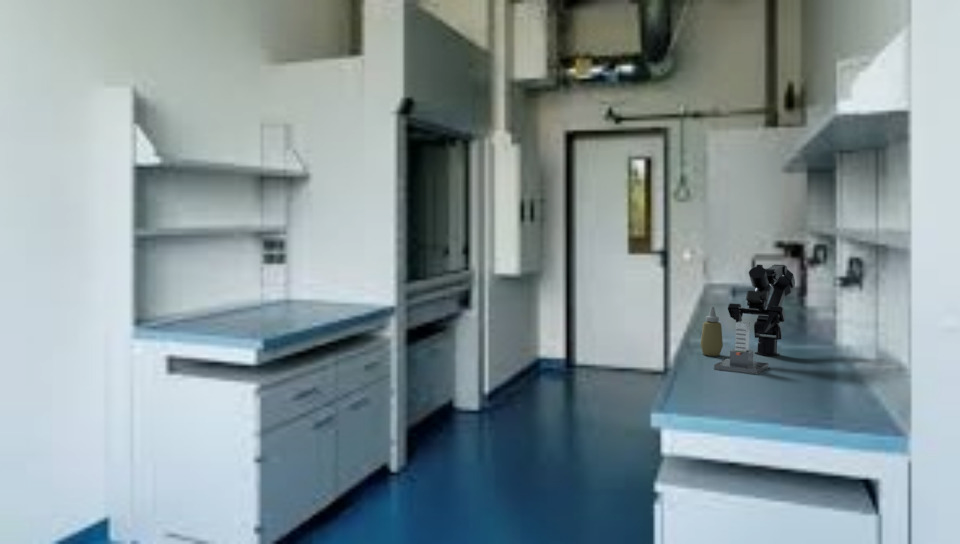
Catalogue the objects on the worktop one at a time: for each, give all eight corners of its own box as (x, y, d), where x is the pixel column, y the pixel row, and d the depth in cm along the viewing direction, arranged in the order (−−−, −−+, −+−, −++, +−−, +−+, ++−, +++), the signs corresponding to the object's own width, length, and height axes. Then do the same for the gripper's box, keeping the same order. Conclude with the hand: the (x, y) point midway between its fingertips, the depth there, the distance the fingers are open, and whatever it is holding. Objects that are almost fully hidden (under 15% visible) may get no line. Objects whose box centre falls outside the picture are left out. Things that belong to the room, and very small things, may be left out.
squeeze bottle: (725, 357, 276) (726, 308, 275) (703, 356, 276) (704, 308, 275) (718, 353, 284) (720, 305, 283) (697, 352, 284) (698, 305, 283)
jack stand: (726, 362, 265) (727, 346, 264) (768, 367, 257) (768, 350, 256) (714, 369, 253) (714, 351, 253) (756, 374, 245) (757, 356, 245)
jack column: (738, 350, 257) (738, 321, 256) (748, 352, 255) (749, 322, 254) (734, 352, 254) (735, 322, 253) (745, 353, 252) (746, 323, 251)
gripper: (729, 280, 271) (719, 314, 263) (784, 283, 260) (775, 319, 252) (735, 300, 278) (725, 333, 270) (789, 303, 267) (780, 338, 259)
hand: (750, 331), depth 263 cm, fingers open, 9 cm apart
